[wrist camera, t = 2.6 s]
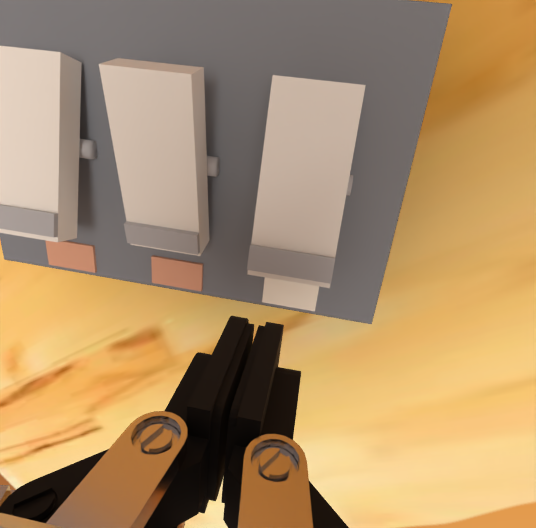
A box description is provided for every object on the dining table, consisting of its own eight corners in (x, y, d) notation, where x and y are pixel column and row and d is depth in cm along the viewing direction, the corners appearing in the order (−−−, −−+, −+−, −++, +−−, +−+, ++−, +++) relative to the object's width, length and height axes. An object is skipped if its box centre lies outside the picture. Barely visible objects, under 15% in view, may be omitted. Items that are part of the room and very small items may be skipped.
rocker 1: (9, 54, 20) (-23, 41, 18) (81, 62, 20) (56, 49, 18) (11, 227, 22) (-18, 231, 20) (76, 238, 22) (53, 243, 20)
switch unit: (8, -17, 23) (-73, -44, 18) (431, 20, 20) (457, -1, 15) (45, 238, 29) (-7, 264, 25) (367, 292, 27) (372, 332, 22)
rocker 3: (277, 84, 18) (271, 73, 17) (362, 93, 18) (366, 83, 16) (253, 267, 20) (246, 275, 19) (329, 279, 20) (329, 289, 18)
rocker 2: (117, 58, 17) (94, 65, 16) (203, 67, 17) (188, 75, 15) (143, 229, 23) (128, 247, 21) (209, 240, 22) (198, 259, 21)
